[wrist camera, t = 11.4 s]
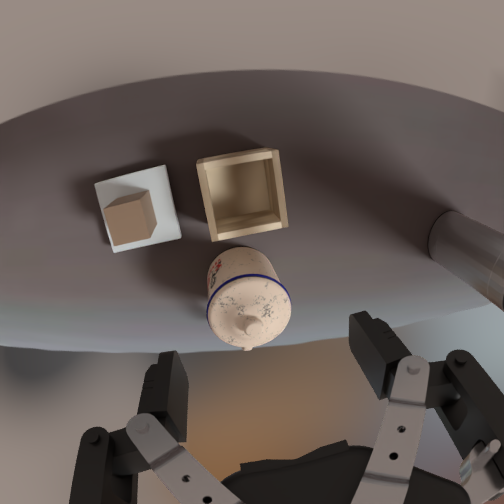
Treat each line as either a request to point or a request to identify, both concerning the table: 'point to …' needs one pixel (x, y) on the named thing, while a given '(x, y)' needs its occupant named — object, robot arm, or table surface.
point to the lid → (138, 209)
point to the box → (242, 193)
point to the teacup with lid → (246, 299)
